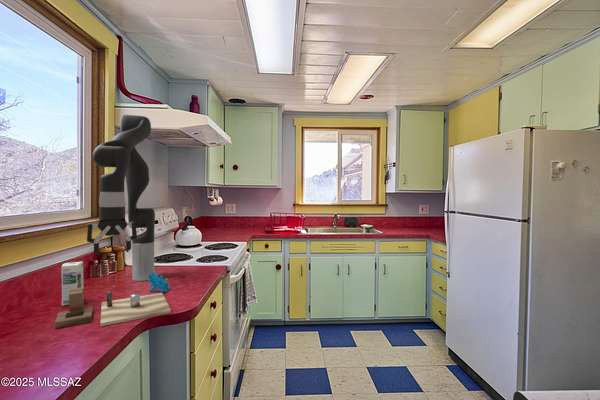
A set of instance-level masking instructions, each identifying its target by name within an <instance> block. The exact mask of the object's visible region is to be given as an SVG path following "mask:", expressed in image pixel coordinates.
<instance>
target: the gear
mask: <svg viewBox="0 0 600 400" xmlns="http://www.w3.org/2000/svg"><path fill="white" fill-rule="evenodd" d="M159 275H160V274H159V273H158V272H156V273H155V272H154V273H151V274H150V275H149V276H148V277H149V279H148V280H147V282H148V283H149V282H150V283H149V286H150V287H151V288H150V289H149V291H150V292H152V291H157V290H158V292H159V293H162V294H163V293H167V292H168V290H170V283H168V281H169V278H167V277H166V278H165V279H164V276H163V275H160V276H159Z"/></svg>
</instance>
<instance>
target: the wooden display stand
mask: <svg viewBox="0 0 600 400" xmlns="http://www.w3.org/2000/svg"><path fill="white" fill-rule="evenodd" d="M84 289H85V287H84V286H83V287H81V288H73V289H71V290H70V293H69V305H68V310H64V311H63V310H62V311H58V313H57V317H56V318H55V321H54V329H59V328H64V327H70V326H75V325H80V324H81V325H82V324H87V323H90V322H91V323H92V320H93V319H92V318H93V313H94V311H93V309H94V308H93V306H88V307H85V302H84V301H85V299H84V297H85V296H84V295H85V294H84V293H85V292H84V291H85V290H84Z"/></svg>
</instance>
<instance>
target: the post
mask: <svg viewBox="0 0 600 400" xmlns="http://www.w3.org/2000/svg"><path fill="white" fill-rule="evenodd" d="M140 296H141V293H137V292H136V293H132V294H130V296H129V298H130V307H131V308H135V307H139V306H140Z"/></svg>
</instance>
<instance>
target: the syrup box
mask: <svg viewBox="0 0 600 400" xmlns="http://www.w3.org/2000/svg"><path fill="white" fill-rule="evenodd" d="M81 287H84V261H78V262H77V261H75V262H74V261H73V262H65V263H63V264H62V265H61V306H69V293H70V290H71V289H73V288H81Z"/></svg>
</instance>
